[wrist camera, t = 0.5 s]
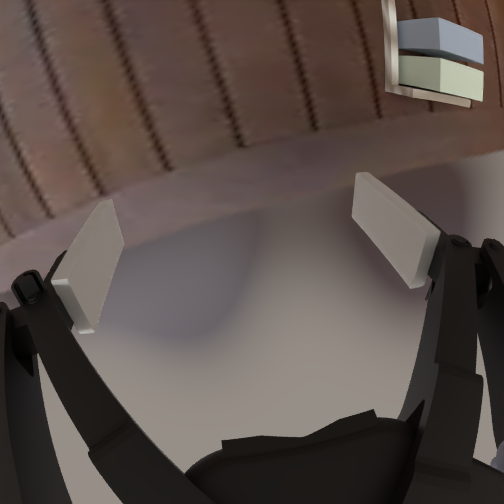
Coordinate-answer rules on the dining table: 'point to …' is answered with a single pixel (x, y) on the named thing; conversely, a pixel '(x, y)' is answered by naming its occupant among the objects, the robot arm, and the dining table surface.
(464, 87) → the book sage
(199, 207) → the dining table surface
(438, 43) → the book slate
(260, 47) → the dining table surface
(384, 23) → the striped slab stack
